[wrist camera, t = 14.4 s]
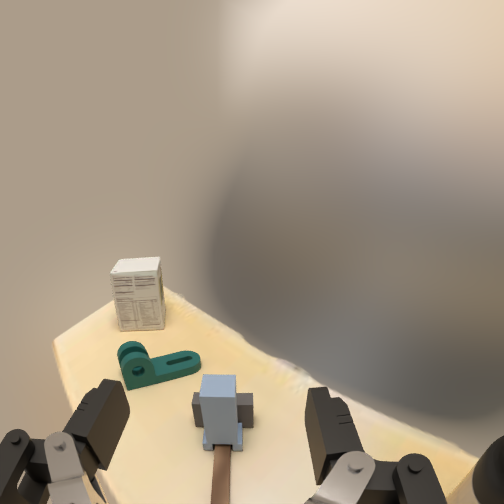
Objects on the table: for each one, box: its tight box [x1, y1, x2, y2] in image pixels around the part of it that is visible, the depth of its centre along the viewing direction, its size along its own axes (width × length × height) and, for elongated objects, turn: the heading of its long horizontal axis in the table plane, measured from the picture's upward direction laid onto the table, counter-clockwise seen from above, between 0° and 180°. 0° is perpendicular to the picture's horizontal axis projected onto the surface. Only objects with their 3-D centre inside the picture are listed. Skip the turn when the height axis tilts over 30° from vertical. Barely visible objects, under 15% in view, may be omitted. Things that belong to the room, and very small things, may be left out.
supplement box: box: [110, 257, 166, 331], centre depth 81 cm, size 13×13×18 cm
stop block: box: [192, 392, 253, 428], centre depth 46 cm, size 10×3×6 cm, turn 92°
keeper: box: [199, 374, 242, 451], centre depth 40 cm, size 6×5×13 cm
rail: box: [211, 444, 231, 504], centre depth 31 cm, size 2×29×1 cm, turn 2°
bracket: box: [117, 341, 201, 390], centre depth 59 cm, size 18×7×8 cm, turn 121°
